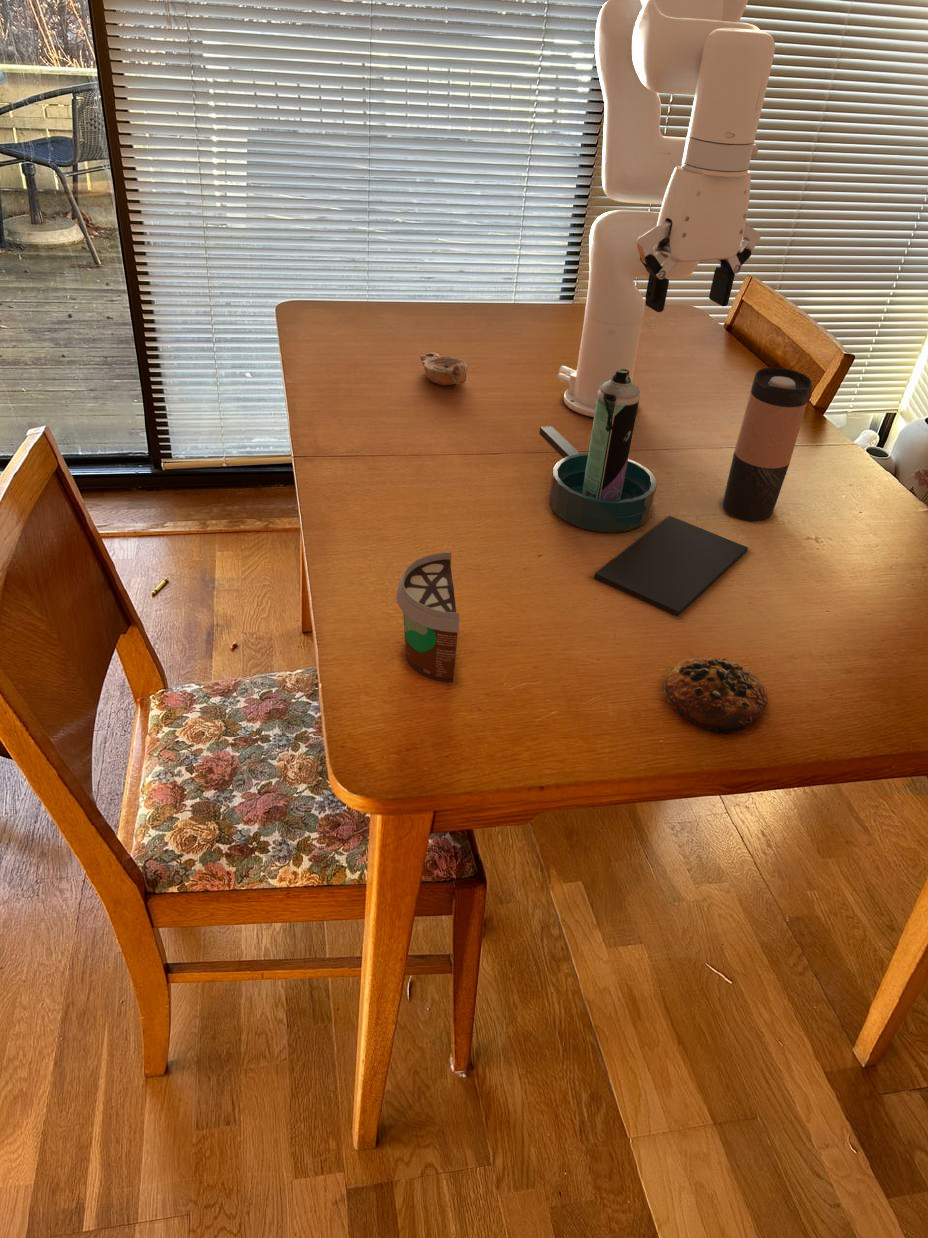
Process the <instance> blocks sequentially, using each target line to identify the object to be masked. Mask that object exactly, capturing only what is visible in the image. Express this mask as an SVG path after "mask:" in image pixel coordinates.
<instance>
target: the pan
mask: <svg viewBox="0 0 928 1238" xmlns="http://www.w3.org/2000/svg"><path fill="white" fill-rule="evenodd" d="M588 453H589V452H583V453H580V454H575V455H572V456H568V457H565V458H561V459H560V460H559V461H557V462H556V464H555V465H554V467H553V468H552V474H551V481H550V489H549V497H548V499H549V500H548V501H549V507H550V508H551V509H552V511H553V512H554V513H555V515H557V516H558V517H559V518H561V519H562V520H563V521H565V522H566V523H569V524H571V525H573V526H575V527H578V528H581V529H584V530H588V531H593V532H600V533H619V532H626V531H631V530H633V529H636V528H639V527H641V526H643V524H645V523H647V522H648V521H649V519H650V516H651V515H652V510H653V505H654V501H655V496H656V491H657V487H658V483H657V480H656V479H657V478H656V476H655V475H654V474H653V472H652V471H651V470H650V469H649V468H647V467H646V466H644V465H642V464H640V463H639V462H637V461H635V460H633V459H630V458H628V462H627V468H626V473H625V478H624V484H623V489H622V494H621V500H605V499H598V498H594V497H589V496H586V495H583V494H582V491H583V484H584V478H585V472H586V465H587V459H588Z"/></svg>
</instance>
